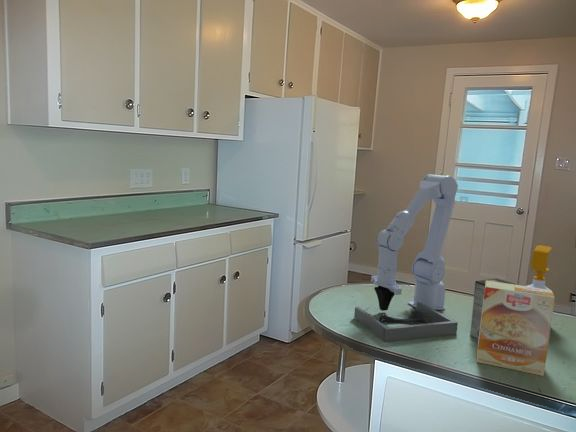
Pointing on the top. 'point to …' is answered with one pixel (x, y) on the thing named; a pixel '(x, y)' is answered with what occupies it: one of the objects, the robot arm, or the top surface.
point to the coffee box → (479, 305)
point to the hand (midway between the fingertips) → (383, 309)
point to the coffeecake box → (515, 327)
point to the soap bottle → (540, 266)
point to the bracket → (413, 319)
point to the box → (437, 328)
